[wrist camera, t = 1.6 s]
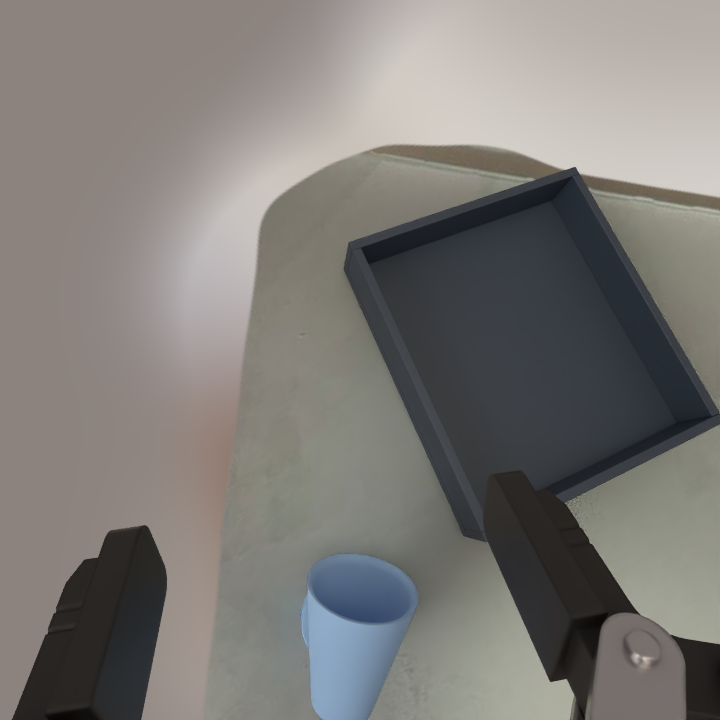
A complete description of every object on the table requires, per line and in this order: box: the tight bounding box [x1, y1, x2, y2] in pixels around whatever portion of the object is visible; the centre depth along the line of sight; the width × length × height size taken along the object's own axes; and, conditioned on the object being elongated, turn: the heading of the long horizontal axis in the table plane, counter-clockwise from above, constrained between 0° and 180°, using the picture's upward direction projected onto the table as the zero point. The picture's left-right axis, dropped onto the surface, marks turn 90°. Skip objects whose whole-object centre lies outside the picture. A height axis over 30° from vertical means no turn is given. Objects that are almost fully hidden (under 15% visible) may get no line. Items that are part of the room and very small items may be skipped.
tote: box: [344, 167, 720, 542], centre depth 32 cm, size 19×17×4 cm
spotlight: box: [300, 553, 418, 720], centre depth 23 cm, size 5×10×7 cm
